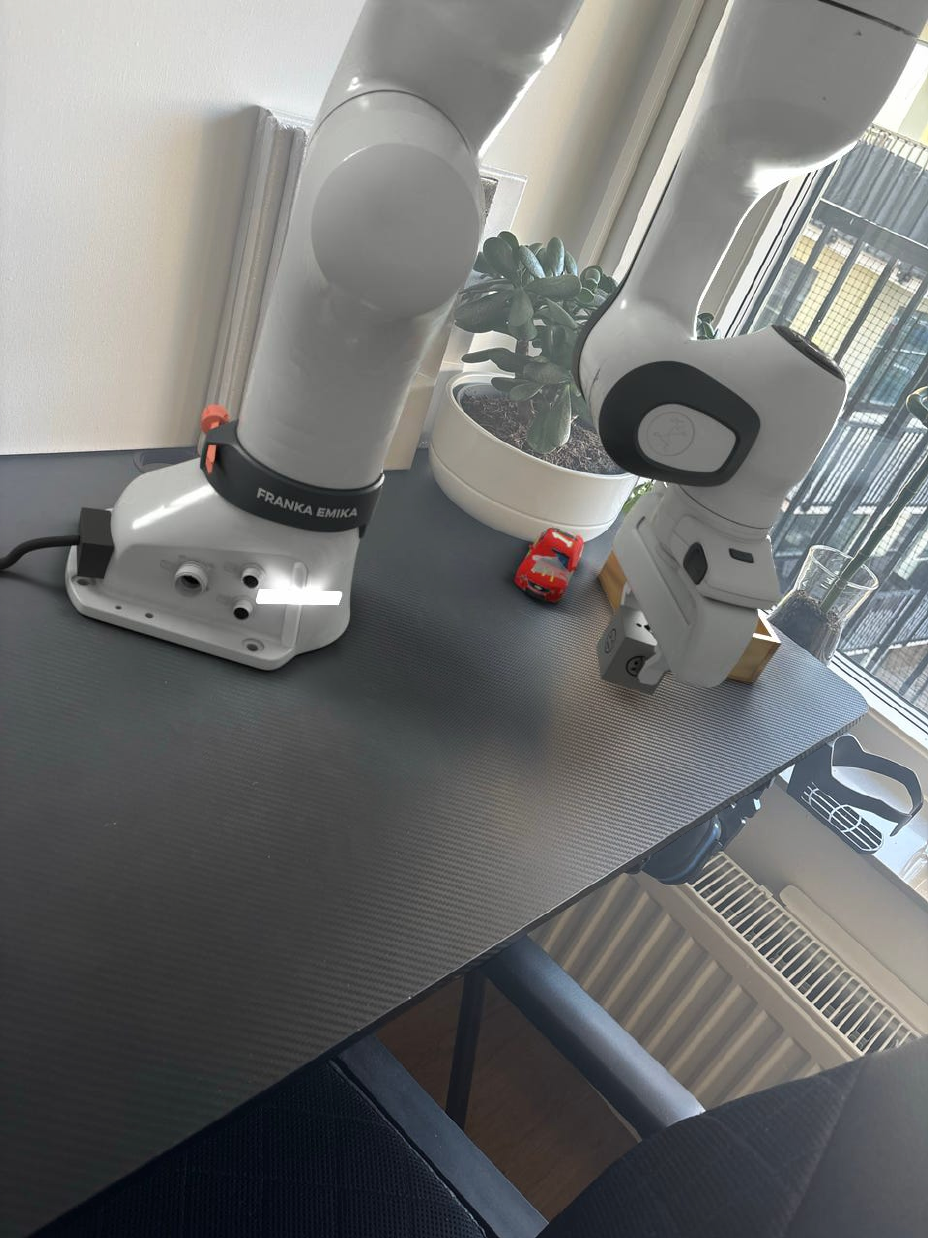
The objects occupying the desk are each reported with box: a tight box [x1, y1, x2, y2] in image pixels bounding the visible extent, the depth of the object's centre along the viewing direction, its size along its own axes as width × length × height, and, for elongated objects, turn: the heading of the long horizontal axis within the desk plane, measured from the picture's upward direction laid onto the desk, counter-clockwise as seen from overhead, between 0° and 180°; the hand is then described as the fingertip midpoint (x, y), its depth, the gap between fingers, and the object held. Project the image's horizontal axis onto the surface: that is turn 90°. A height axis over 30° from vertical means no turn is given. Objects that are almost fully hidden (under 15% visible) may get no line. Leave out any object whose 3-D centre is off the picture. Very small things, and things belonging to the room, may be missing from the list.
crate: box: [597, 549, 783, 684], centre depth 98 cm, size 14×14×5 cm
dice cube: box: [595, 604, 669, 697], centre depth 84 cm, size 5×5×5 cm
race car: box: [513, 527, 584, 604], centre depth 98 cm, size 13×5×4 cm, turn 160°
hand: (633, 654), depth 85 cm, fingers closed on dice cube, 5 cm apart
